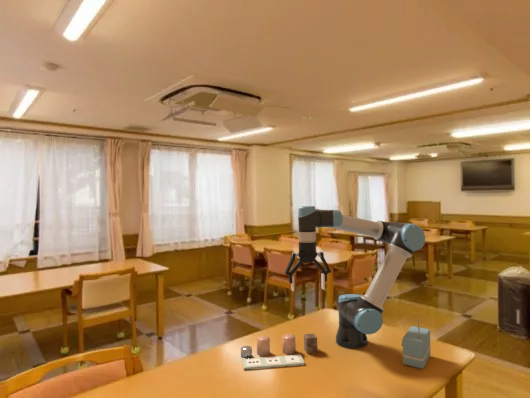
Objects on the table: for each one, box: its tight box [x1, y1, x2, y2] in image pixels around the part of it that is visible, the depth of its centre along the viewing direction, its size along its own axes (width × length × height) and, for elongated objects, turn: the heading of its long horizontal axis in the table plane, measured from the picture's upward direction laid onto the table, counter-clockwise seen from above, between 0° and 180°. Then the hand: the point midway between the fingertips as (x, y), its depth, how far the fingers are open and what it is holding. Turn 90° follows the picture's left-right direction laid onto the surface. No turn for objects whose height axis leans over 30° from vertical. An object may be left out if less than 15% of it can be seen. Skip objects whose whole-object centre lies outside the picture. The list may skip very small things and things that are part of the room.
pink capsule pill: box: [256, 335, 271, 357], centre depth 159 cm, size 6×6×7 cm
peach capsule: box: [282, 333, 297, 355], centre depth 160 cm, size 6×6×7 cm
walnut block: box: [303, 333, 318, 355], centre depth 161 cm, size 5×5×7 cm
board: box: [242, 354, 306, 370], centre depth 149 cm, size 26×8×1 cm, turn 97°
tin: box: [240, 345, 253, 359], centre depth 156 cm, size 5×5×4 cm
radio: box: [401, 320, 431, 369], centre depth 149 cm, size 16×9×20 cm, turn 145°
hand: (308, 289), depth 151 cm, fingers open, 13 cm apart
